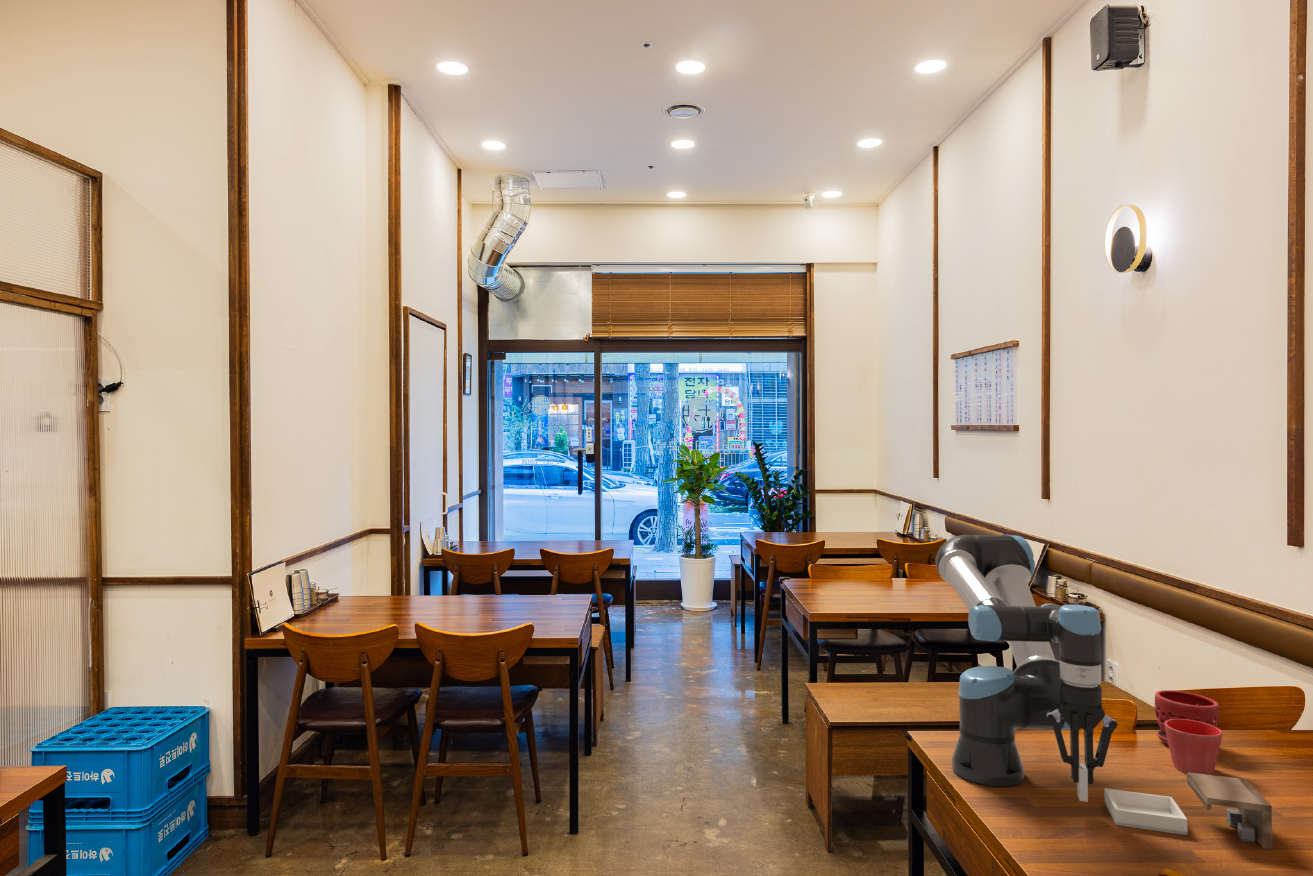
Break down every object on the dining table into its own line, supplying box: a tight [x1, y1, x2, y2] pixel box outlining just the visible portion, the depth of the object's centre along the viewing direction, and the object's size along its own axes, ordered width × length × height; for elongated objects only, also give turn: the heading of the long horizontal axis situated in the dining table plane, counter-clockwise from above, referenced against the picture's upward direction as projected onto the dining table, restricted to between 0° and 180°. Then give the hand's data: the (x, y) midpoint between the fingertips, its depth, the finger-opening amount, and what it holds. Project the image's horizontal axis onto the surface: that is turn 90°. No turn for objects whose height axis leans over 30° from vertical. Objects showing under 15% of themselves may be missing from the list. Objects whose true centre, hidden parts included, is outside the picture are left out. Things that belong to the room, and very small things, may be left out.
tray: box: [1104, 787, 1189, 836], centre depth 152 cm, size 12×10×3 cm
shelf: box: [1186, 772, 1273, 850], centre depth 147 cm, size 10×12×8 cm
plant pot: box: [1154, 689, 1220, 746], centre depth 189 cm, size 13×13×12 cm
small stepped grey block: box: [1225, 808, 1256, 843], centre depth 147 cm, size 2×8×2 cm, turn 160°
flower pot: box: [1165, 719, 1223, 775], centre depth 175 cm, size 11×11×10 cm
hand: (1082, 798), depth 155 cm, fingers closed
